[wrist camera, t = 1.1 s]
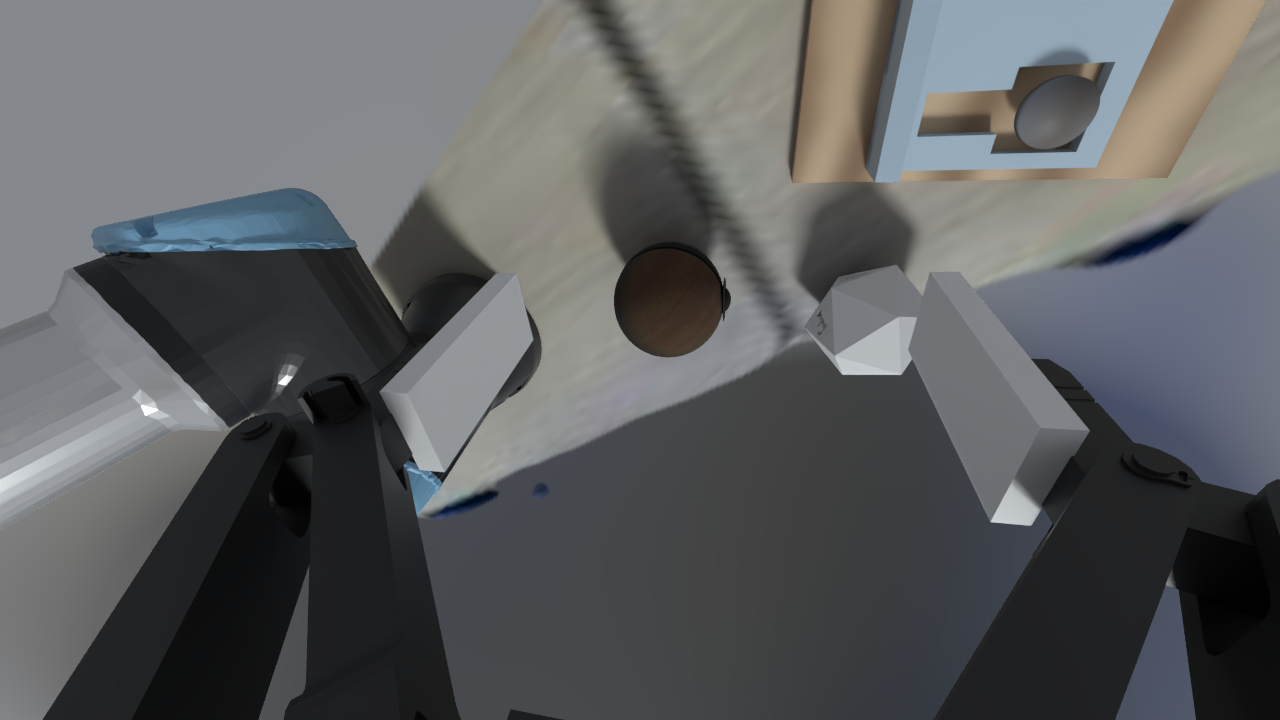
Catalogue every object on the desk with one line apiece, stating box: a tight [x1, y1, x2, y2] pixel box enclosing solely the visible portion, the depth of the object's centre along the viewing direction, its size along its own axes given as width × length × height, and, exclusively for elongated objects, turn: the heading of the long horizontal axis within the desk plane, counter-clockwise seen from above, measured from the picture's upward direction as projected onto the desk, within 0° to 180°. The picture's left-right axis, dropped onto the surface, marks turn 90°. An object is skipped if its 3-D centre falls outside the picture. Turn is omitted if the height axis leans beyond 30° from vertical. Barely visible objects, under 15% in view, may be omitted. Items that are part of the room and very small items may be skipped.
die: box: [805, 265, 923, 375], centre depth 39 cm, size 8×9×10 cm
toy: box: [614, 242, 731, 357], centre depth 40 cm, size 9×10×10 cm
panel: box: [865, 0, 1174, 183], centre depth 27 cm, size 14×16×4 cm
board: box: [791, 0, 1266, 183], centre depth 28 cm, size 24×18×4 cm
